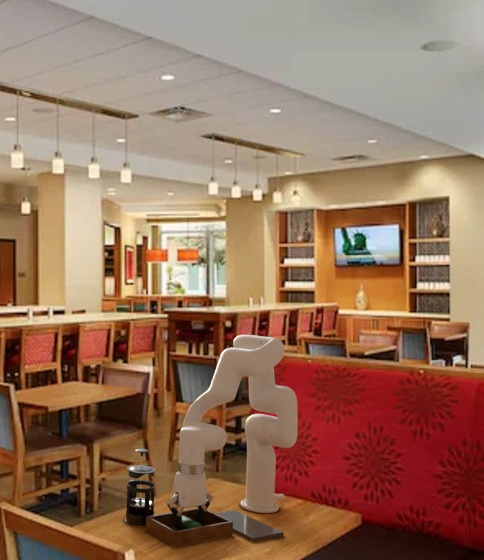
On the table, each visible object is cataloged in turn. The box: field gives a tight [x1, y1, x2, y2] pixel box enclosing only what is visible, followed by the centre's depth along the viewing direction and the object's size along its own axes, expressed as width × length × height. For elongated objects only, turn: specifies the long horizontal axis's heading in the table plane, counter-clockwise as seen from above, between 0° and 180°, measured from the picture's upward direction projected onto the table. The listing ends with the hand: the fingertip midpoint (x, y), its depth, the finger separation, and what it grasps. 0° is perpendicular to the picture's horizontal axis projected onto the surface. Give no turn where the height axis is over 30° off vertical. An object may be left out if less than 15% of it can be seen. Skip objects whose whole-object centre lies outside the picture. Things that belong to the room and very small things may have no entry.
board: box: [214, 509, 285, 543], centre depth 227 cm, size 12×22×2 cm, turn 29°
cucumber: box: [182, 516, 202, 530], centre depth 220 cm, size 4×10×4 cm, turn 29°
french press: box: [124, 448, 157, 527], centre depth 229 cm, size 12×9×23 cm
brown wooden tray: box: [145, 507, 234, 547], centre depth 220 cm, size 22×15×4 cm
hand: (189, 525), depth 220 cm, fingers open, 8 cm apart
